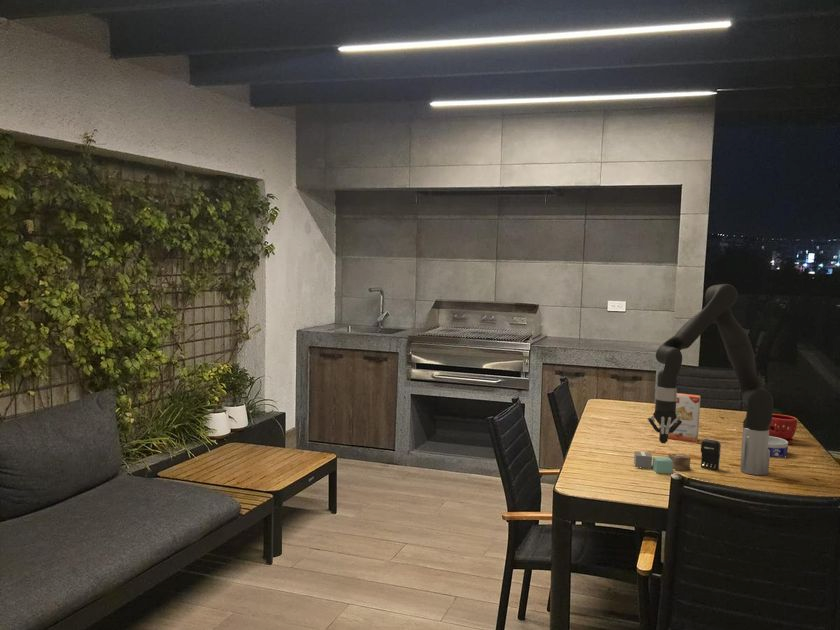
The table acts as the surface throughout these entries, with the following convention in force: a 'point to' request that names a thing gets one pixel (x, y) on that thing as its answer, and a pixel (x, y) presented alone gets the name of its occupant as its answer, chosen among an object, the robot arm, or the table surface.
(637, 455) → the stripe block
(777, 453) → the dog bowl
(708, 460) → the battery
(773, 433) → the plant pot
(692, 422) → the cracker box
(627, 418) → the table surface
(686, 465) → the dot block
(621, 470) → the table surface
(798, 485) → the table surface
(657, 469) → the plain block
